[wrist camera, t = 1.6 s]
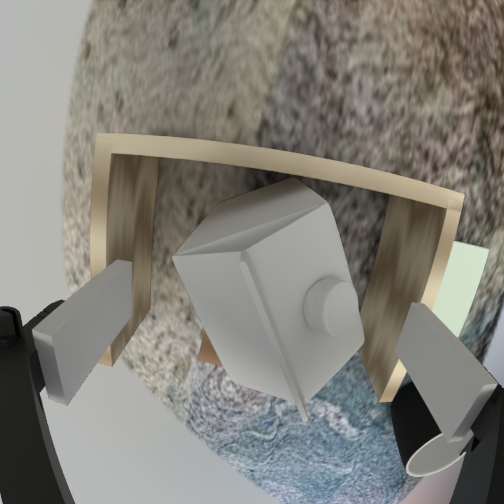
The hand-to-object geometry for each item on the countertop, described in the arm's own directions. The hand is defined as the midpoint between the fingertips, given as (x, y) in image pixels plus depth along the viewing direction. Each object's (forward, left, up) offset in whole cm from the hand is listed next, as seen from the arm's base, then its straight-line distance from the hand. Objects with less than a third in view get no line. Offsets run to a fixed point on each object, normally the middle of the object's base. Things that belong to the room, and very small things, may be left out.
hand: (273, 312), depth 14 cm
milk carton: (0, 0, -16) cm, 15 cm away
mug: (+17, +22, -16) cm, 32 cm away
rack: (+1, 0, -15) cm, 15 cm away
